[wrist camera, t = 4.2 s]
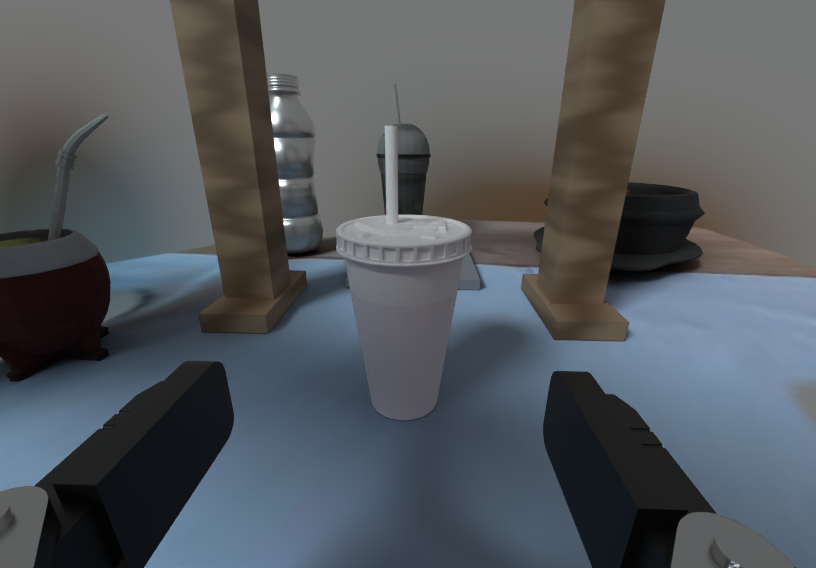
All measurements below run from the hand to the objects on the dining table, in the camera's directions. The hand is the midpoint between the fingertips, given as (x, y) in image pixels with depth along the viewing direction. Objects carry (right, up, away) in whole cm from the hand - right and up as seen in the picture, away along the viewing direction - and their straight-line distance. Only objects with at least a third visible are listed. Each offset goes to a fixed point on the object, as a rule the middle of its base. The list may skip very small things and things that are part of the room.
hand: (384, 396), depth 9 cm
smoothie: (0, -4, +12) cm, 12 cm away
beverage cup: (0, +9, +45) cm, 46 cm away
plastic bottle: (-13, +7, +39) cm, 42 cm away
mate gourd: (-22, -2, +16) cm, 28 cm away
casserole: (+26, +6, +39) cm, 47 cm away
